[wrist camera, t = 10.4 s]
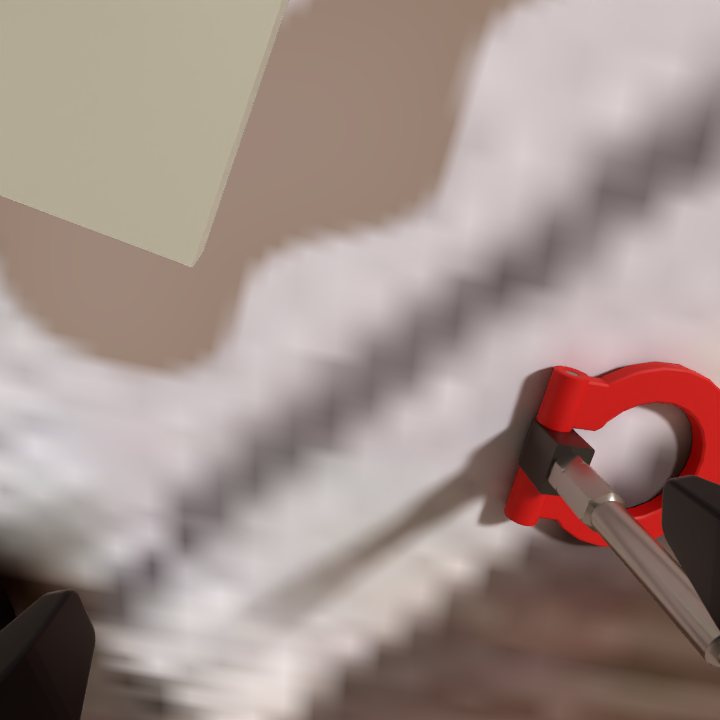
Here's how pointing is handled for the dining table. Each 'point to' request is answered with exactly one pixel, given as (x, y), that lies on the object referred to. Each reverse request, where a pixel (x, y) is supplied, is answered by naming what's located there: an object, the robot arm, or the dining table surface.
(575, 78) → the dining table surface
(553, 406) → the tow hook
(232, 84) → the hole board
